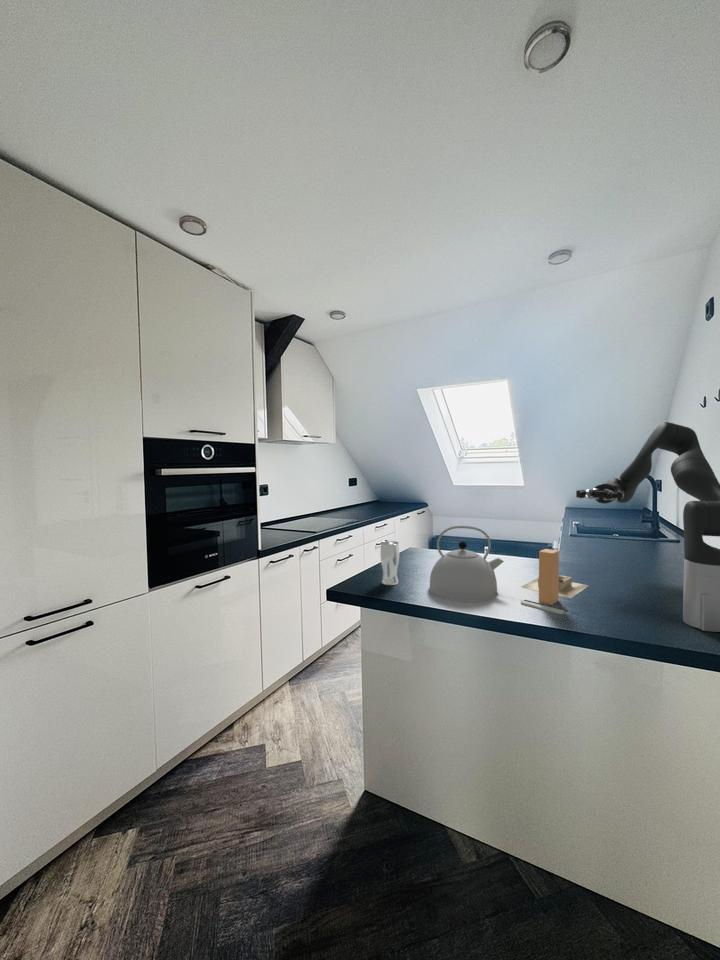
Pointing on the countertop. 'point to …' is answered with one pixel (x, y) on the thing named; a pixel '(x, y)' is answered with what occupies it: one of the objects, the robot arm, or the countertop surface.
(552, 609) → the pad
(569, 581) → the wooden socket base
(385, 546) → the beer glass
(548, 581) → the tan rectangular block
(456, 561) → the kettle
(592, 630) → the countertop surface
